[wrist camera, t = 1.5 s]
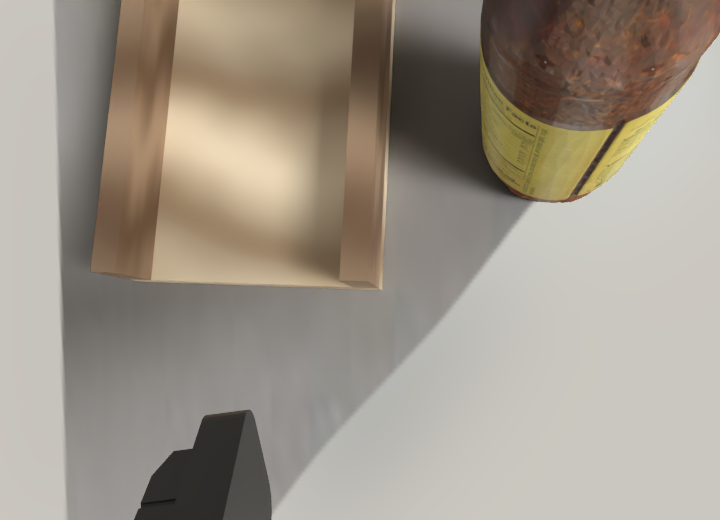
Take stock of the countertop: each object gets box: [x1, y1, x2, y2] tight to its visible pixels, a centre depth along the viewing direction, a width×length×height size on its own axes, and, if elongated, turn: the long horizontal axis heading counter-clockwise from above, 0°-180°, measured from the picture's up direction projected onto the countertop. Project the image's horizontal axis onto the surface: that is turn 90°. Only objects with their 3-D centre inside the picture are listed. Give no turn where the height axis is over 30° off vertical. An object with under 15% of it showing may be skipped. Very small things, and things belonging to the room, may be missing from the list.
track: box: [90, 0, 396, 290], centre depth 28 cm, size 20×12×4 cm, turn 177°
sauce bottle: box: [480, 0, 720, 203], centre depth 17 cm, size 7×6×20 cm
